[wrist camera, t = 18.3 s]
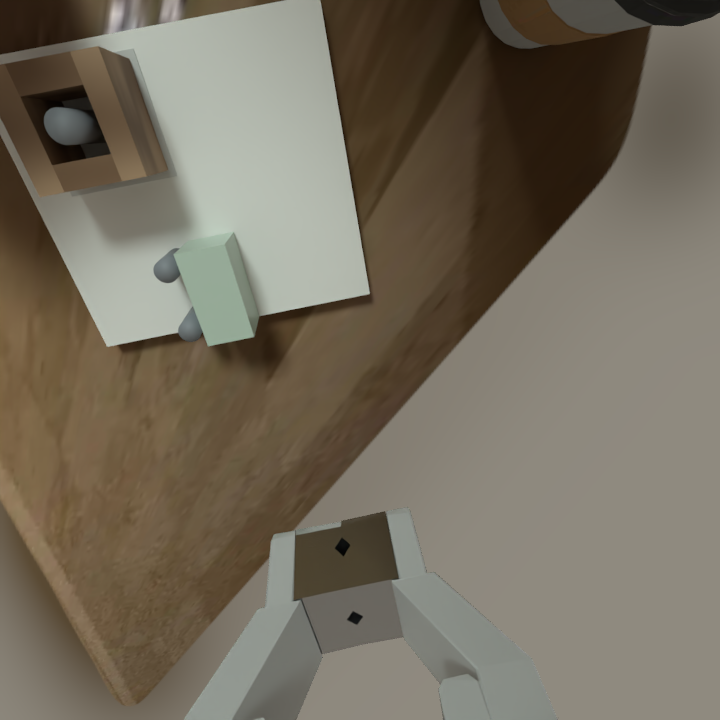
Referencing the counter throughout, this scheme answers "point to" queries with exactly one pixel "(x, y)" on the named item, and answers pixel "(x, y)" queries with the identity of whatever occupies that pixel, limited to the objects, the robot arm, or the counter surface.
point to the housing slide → (218, 288)
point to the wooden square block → (110, 104)
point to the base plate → (212, 171)
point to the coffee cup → (585, 18)
